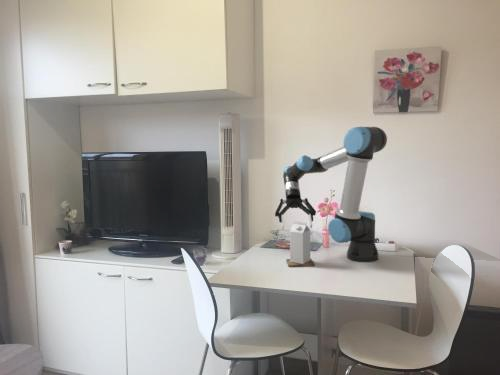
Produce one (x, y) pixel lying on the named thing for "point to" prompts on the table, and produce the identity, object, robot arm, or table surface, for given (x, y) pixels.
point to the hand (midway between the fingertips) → (297, 226)
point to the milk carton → (299, 243)
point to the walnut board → (307, 264)
